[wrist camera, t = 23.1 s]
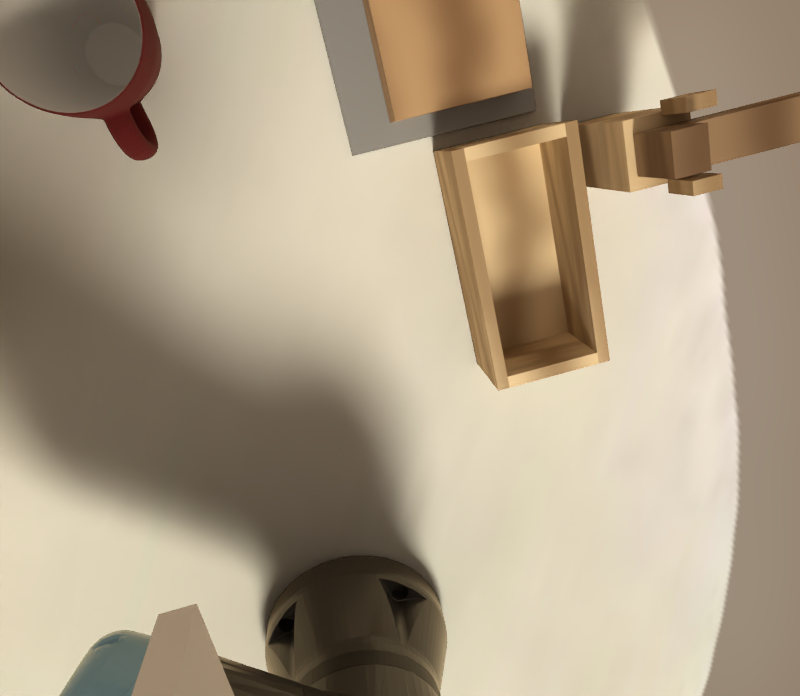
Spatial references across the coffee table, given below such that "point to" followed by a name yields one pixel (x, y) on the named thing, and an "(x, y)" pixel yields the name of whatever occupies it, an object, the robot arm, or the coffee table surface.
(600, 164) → the open wooden box
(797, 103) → the key
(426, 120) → the mat
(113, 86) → the mug
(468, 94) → the lid
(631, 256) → the coffee table surface
